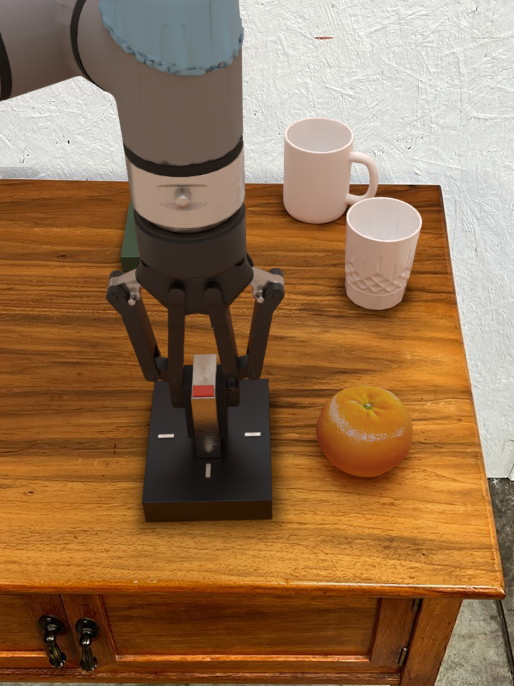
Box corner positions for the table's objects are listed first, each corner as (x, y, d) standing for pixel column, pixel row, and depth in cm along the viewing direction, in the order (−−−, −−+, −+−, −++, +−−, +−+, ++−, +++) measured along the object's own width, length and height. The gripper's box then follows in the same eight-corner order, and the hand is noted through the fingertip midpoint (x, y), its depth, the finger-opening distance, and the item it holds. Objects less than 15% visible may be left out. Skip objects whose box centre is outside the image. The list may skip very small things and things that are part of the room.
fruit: (427, 397, 73) (393, 365, 66) (423, 486, 70) (387, 461, 63) (346, 405, 77) (307, 375, 71) (339, 489, 74) (298, 465, 68)
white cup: (337, 310, 86) (343, 237, 79) (342, 266, 91) (349, 193, 84) (408, 317, 85) (421, 244, 78) (410, 272, 91) (422, 200, 84)
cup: (297, 182, 103) (299, 111, 96) (383, 203, 100) (392, 131, 93) (272, 215, 98) (273, 143, 91) (362, 239, 95) (371, 166, 88)
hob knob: (199, 414, 72) (193, 352, 66) (221, 414, 72) (216, 351, 66) (197, 458, 68) (190, 396, 62) (220, 457, 68) (215, 395, 62)
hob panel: (157, 400, 77) (154, 379, 74) (268, 398, 77) (268, 377, 75) (145, 522, 67) (141, 501, 65) (272, 519, 68) (272, 498, 65)
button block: (132, 211, 98) (128, 184, 96) (211, 210, 99) (209, 183, 96) (122, 272, 90) (117, 244, 87) (208, 270, 91) (206, 243, 88)
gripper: (66, 238, 49) (118, 461, 66) (305, 235, 49) (295, 458, 67) (82, 172, 54) (127, 395, 71) (299, 170, 55) (291, 393, 72)
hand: (208, 425), depth 69 cm, fingers closed on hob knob, 2 cm apart
